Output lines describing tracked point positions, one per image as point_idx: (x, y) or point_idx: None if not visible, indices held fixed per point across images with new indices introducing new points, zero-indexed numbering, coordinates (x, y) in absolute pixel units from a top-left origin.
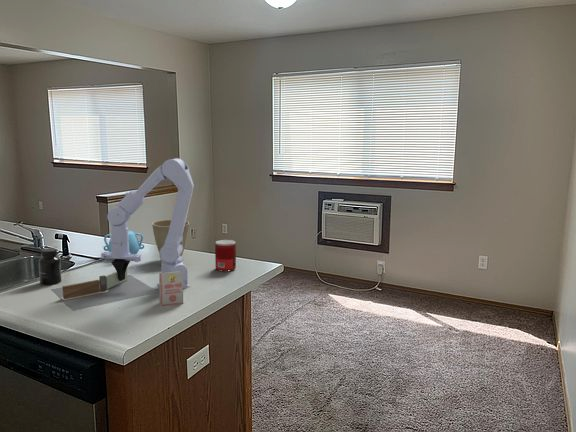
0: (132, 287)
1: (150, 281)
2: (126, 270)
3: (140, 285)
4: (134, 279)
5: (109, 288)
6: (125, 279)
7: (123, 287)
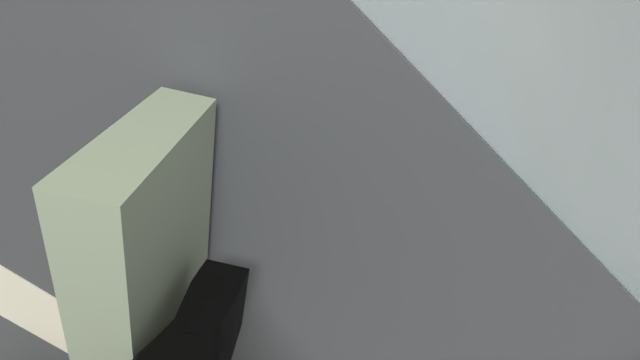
0: (416, 331)
1: (619, 44)
2: (138, 211)
3: (495, 272)
4: (306, 32)
5: None
6: (207, 157)
7: (315, 331)
